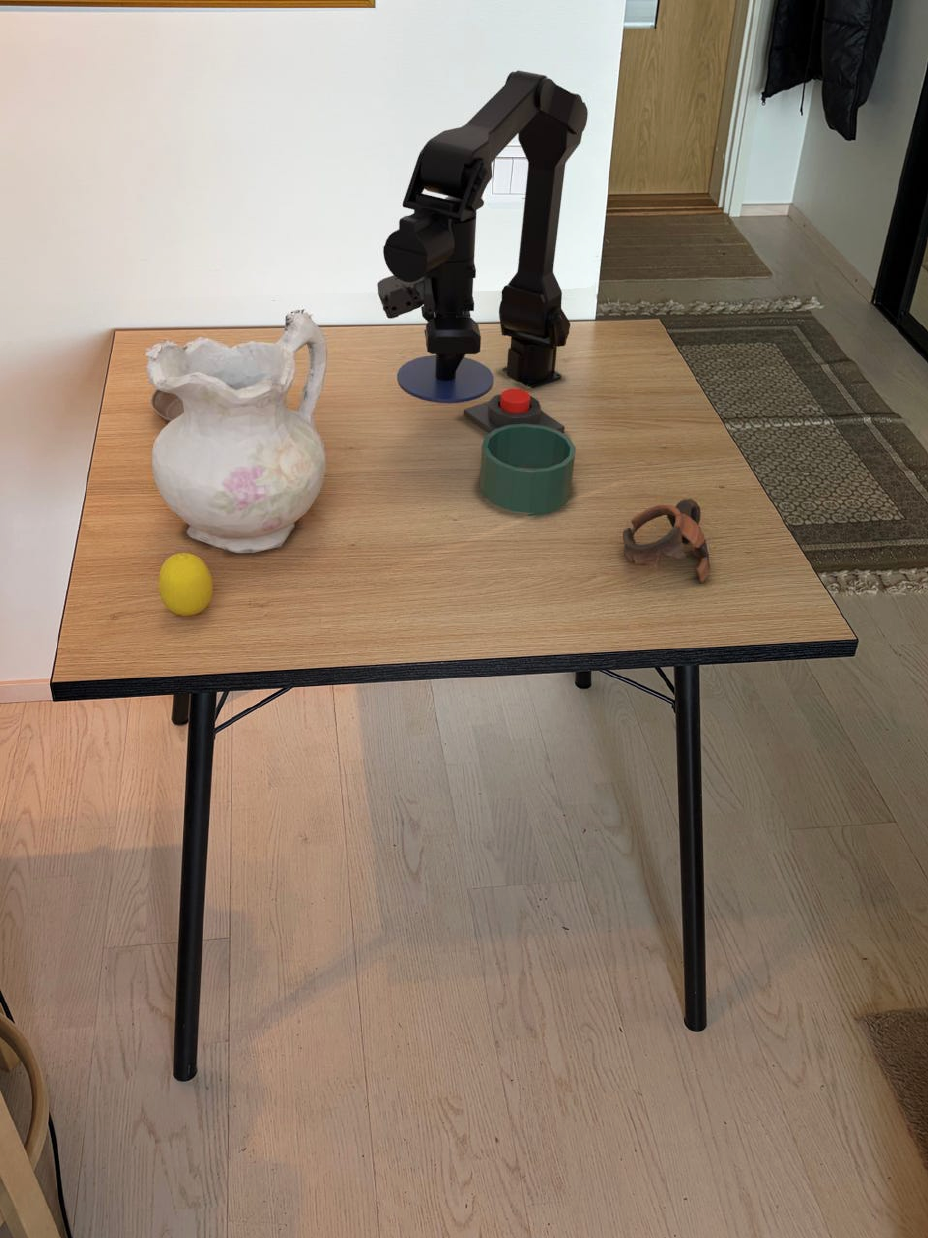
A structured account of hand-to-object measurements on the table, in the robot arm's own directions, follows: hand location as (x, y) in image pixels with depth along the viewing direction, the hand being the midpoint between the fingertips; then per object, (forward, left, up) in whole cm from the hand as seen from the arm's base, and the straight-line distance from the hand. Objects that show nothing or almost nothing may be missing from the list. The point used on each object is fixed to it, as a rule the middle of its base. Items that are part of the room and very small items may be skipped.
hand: (445, 373), depth 147 cm
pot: (-3, +13, -11) cm, 18 cm away
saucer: (+22, -25, -12) cm, 35 cm away
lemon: (+43, +13, -12) cm, 46 cm away
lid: (0, 0, -1) cm, 1 cm away
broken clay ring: (-8, +34, -12) cm, 37 cm away
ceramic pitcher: (+29, +1, -12) cm, 31 cm away
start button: (-12, 0, -8) cm, 14 cm away
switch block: (-12, 0, -11) cm, 16 cm away
